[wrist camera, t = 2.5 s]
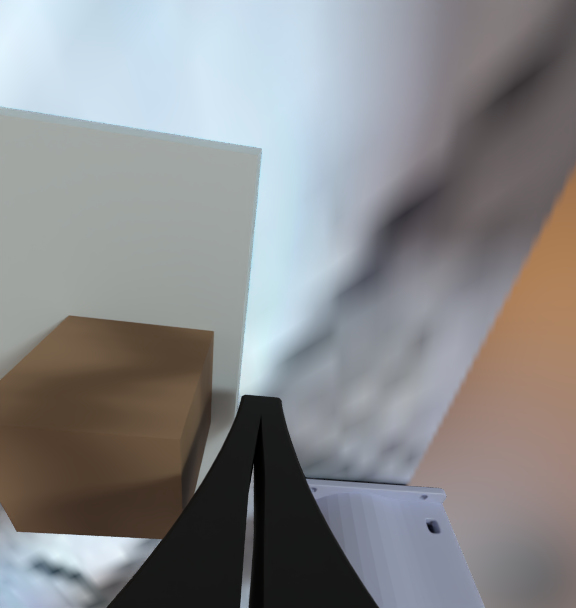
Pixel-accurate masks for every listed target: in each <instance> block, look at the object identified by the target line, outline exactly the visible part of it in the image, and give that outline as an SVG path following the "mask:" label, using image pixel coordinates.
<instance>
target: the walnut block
mask: <svg viewBox="0 0 576 608" xmlns="http://www.w3.org/2000/svg"><path fill="white" fill-rule="evenodd" d="M213 347H214V331H209V330H199V329H190V328H181V327H172V326H163V325H153V324H144V323H135V322H126V321H117V320H108V319H98V318H89V317H80V316H71V315H69V316H68V317H67V318H66V319H65V320H64V321H62V322H61V323H60V324H59V325H58V326H57V327H56V328H55V329H54V330H53V331H52V332H51V333H50V334H49V335H48V336H47V337H45V338H44V339H43V340H42V341H41V342H40V343H39V344H38V345H37V346H36V347H35V348H34V349H33V350H32V351H31V352H30V353H28V354H27V355H26V356H25V357H24V358H23V359H22V360H21V361H20V362H19V363H18V364H17V365H16V366H15V367H14V368H12V369H11V370H10V371H9V372H8V373H7V374H6V375H5V376H4V377H3V378H2V379H1V380H0V502H1V504H2V506H3V508H4V510H5V511H6V513H7V515H8V517H9V518H10V520H11V522H12V524H13V526H14V527H15V529H16V531H17V532H33V533H53V534H72V535H91V536H111V537H130V538H149V539H163V538H164V537H165V535H166V534H167V533H168V531H169V530H170V529H171V527H172V526H173V524H174V523H175V522H176V520H177V519H178V517H179V516H180V514H181V513H182V512H183V510H184V509H185V507H186V506H187V504H188V503H189V501H190V500H191V498H192V497H193V495H194V493H195V489H196V485H197V480H198V476H199V472H200V467H201V463H202V459H203V454H204V450H205V446H206V441H207V437H208V433H209V428H210V424H211V401H212V374H213Z"/></svg>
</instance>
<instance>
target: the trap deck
mask: <svg viewBox="0 0 576 608" xmlns="http://www.w3.org/2000/svg"><path fill="white" fill-rule="evenodd" d="M261 154H262V149H261V148H255V147H248V146H242V145H236V144H230V143H223V142H217V141H211V140H205V139H198V138H192V137H186V136H180V135H173V134H167V133H161V132H155V131H148V130H142V129H136V128H130V127H123V126H117V125H111V124H105V123H98V122H92V121H86V120H80V119H73V118H67V117H61V116H55V115H48V114H42V113H36V112H30V111H23V110H17V109H11V108H5V107H0V380H1V379H2V378H3V377H4V376H5V375H6V374H7V373H8V372H9V371H10V370H11V369H12V368H14V367H15V366H16V365H17V364H18V363H19V362H20V361H21V360H22V359H23V358H24V357H25V356H26V355H27V354H28V353H30V352H31V351H32V350H33V349H34V348H35V347H36V346H37V345H38V344H39V343H40V342H41V341H42V340H43V339H44V338H45V337H47V336H48V335H49V334H50V333H51V332H52V331H53V330H54V329H55V328H56V327H57V326H58V325H59V324H60V323H61V322H62V321H64V320H65V319H66V318H67V317H68V316H69V315H71V316H80V317H89V318H98V319H108V320H117V321H126V322H135V323H144V324H153V325H163V326H172V327H181V328H190V329H199V330H209V331H214V347H213V374H212V401H211V424H210V428H209V433H208V437H207V441H206V446H205V450H204V454H203V459H202V463H201V467H200V472H199V476H198V480H197V485H196V489H195V492H196V491H197V489H198V488H199V486H200V484H201V483H202V481H203V479H204V478H205V476H206V474H207V473H208V471H209V469H210V468H211V466H212V464H213V462H214V460H215V459H216V457H217V455H218V453H219V451H220V449H221V448H222V446H223V443H224V441H225V439H226V437H227V435H228V433H229V431H230V429H231V427H232V424H233V422H234V419H235V417H236V414H237V405H238V395H239V384H240V374H241V363H242V353H243V342H244V332H245V321H246V311H247V300H248V290H249V279H250V269H251V258H252V248H253V237H254V227H255V217H256V206H257V196H258V185H259V175H260V164H261ZM194 494H195V493H194Z"/></svg>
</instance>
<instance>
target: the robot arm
mask: <svg viewBox="0 0 576 608" xmlns="http://www.w3.org/2000/svg"><path fill="white" fill-rule="evenodd" d="M253 464H254V542H253V558H252V571H251V584H250V597H249V608H485V607H484V604H483V602H482V599H481V597H480V595H479V592H478V590H477V587H476V585H475V582H474V580H473V578H472V575H471V573H470V571H469V568H468V565H467V563H466V561H465V558H464V556H463V553H462V551H461V548H460V546H459V544H458V541H457V539H456V536H455V534H454V531H453V529H452V527H451V524H450V522H449V519H448V517H447V514H446V512H445V510H444V507H443V505H442V503H443V502H444V500H445V499H446V494H445V492H444V490H443V489H441V488H431V487H417V486H403V485H389V484H375V483H361V482H346V481H332V480H318V479H306V478H305V476H304V473H303V471H302V469H301V466H300V463H299V461H298V458H297V456H296V453H295V450H294V447H293V444H292V441H291V438H290V435H289V432H288V428H287V425H286V421H285V417H284V413H283V408H282V401H281V400H280V398H276V397H265V396H254V395H244V396H242V397H241V402H240V405H239V409H238V412H237V414H236V417H235V419H234V422H233V424H232V427H231V429H230V431H229V433H228V435H227V437H226V439H225V441H224V443H223V446H222V448H221V449H220V451H219V453H218V455H217V457H216V459H215V460H214V462H213V464H212V466H211V468H210V469H209V471H208V473H207V474H206V476H205V478H204V479H203V481H202V483H201V484H200V486H199V488H198V489H197V491H196V492H195V494H194V495H193V497H192V498H191V500H190V501H189V503H188V504H187V506H186V507H185V509H184V510H183V512H182V513H181V514H180V516H179V517H178V519H177V520H176V522H175V523H174V524H173V526H172V527H171V529H170V530H169V531H168V533H167V534H166V535H165V537H164V538H163V539H162V541H161V542H160V543H159V544H158V546H157V547H156V548H155V550H154V551H153V552H152V553H151V555H150V556H149V557H148V559H147V560H146V561H145V562H144V564H143V565H142V566H141V568H140V569H139V570H138V571H137V572H136V574H135V575H134V576H133V577H132V579H131V580H130V581H129V582H128V583H127V584H126V586H125V587H124V588H123V589H122V590H121V591H120V593H119V594H118V595H117V596H116V597H115V598H114V600H113V601H112V602H111V603H110V604H109V605H108V607H107V608H240V600H241V586H242V572H243V558H244V544H245V531H246V518H247V505H248V493H249V488H250V482H251V476H252V470H253Z"/></svg>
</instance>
